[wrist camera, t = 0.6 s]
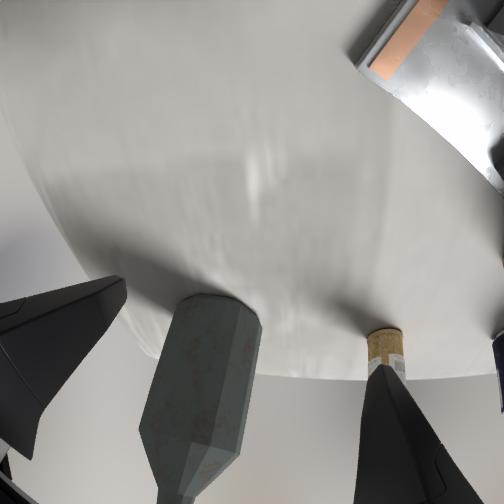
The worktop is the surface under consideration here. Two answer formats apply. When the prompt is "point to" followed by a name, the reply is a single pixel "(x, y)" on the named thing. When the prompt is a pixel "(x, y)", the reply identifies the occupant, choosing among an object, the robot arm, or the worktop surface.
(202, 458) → the bottle
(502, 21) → the handle
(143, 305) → the worktop surface
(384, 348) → the sprinkles bottle
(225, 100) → the worktop surface
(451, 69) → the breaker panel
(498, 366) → the beverage can
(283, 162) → the worktop surface
